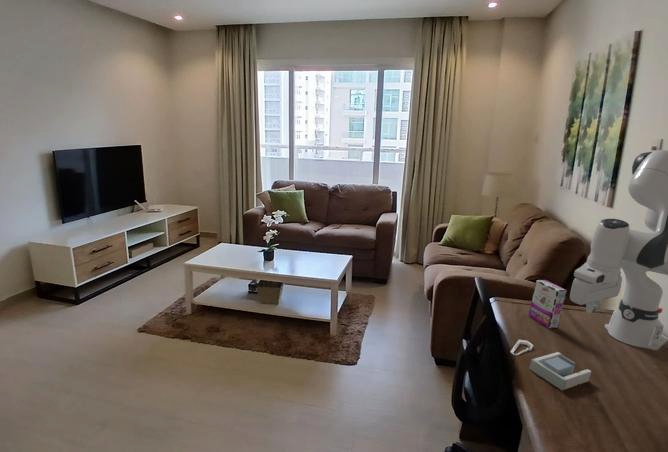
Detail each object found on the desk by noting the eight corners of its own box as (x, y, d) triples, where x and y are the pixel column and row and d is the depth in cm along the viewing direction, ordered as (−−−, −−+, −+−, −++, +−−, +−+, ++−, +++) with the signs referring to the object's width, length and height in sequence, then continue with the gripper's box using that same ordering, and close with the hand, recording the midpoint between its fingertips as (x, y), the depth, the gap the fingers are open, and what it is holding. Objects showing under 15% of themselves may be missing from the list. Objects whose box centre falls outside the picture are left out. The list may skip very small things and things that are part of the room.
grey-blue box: (556, 369, 132) (560, 354, 130) (571, 378, 127) (575, 362, 126) (540, 374, 128) (544, 358, 127) (555, 383, 124) (559, 367, 122)
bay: (555, 360, 136) (557, 351, 135) (588, 380, 126) (591, 371, 126) (529, 368, 130) (531, 359, 129) (561, 390, 121) (564, 380, 120)
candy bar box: (558, 328, 160) (567, 290, 156) (548, 329, 158) (557, 290, 154) (537, 315, 170) (545, 279, 166) (527, 315, 169) (535, 279, 164)
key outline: (524, 362, 136) (525, 357, 136) (509, 356, 139) (509, 351, 138) (534, 345, 146) (535, 341, 145) (519, 340, 149) (520, 336, 148)
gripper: (611, 264, 131) (600, 302, 134) (571, 271, 122) (561, 312, 125) (631, 271, 125) (620, 311, 129) (591, 279, 116) (580, 322, 120)
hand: (590, 311), depth 127 cm, fingers closed
